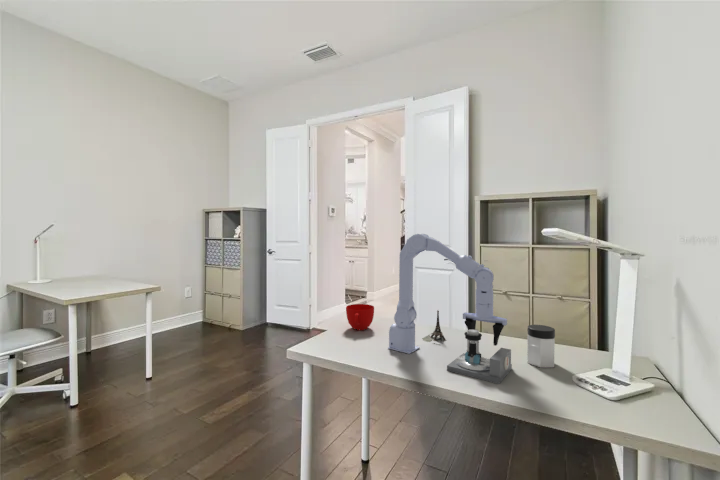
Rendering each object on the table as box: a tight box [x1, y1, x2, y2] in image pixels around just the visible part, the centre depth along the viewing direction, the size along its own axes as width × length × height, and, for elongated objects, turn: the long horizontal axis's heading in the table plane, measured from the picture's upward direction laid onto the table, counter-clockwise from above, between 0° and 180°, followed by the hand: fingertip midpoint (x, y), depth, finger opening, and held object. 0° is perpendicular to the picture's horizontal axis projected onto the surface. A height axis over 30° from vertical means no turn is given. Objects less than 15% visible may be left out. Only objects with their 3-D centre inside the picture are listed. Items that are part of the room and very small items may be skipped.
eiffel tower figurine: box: [421, 310, 447, 346], centre depth 140 cm, size 15×10×13 cm
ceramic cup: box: [345, 303, 375, 331], centre depth 153 cm, size 13×17×10 cm
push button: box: [464, 329, 486, 364], centre depth 109 cm, size 7×5×10 cm
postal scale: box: [446, 347, 513, 385], centre depth 108 cm, size 16×14×6 cm
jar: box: [526, 324, 556, 369], centre depth 113 cm, size 9×8×12 cm
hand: (484, 342), depth 116 cm, fingers open, 7 cm apart
